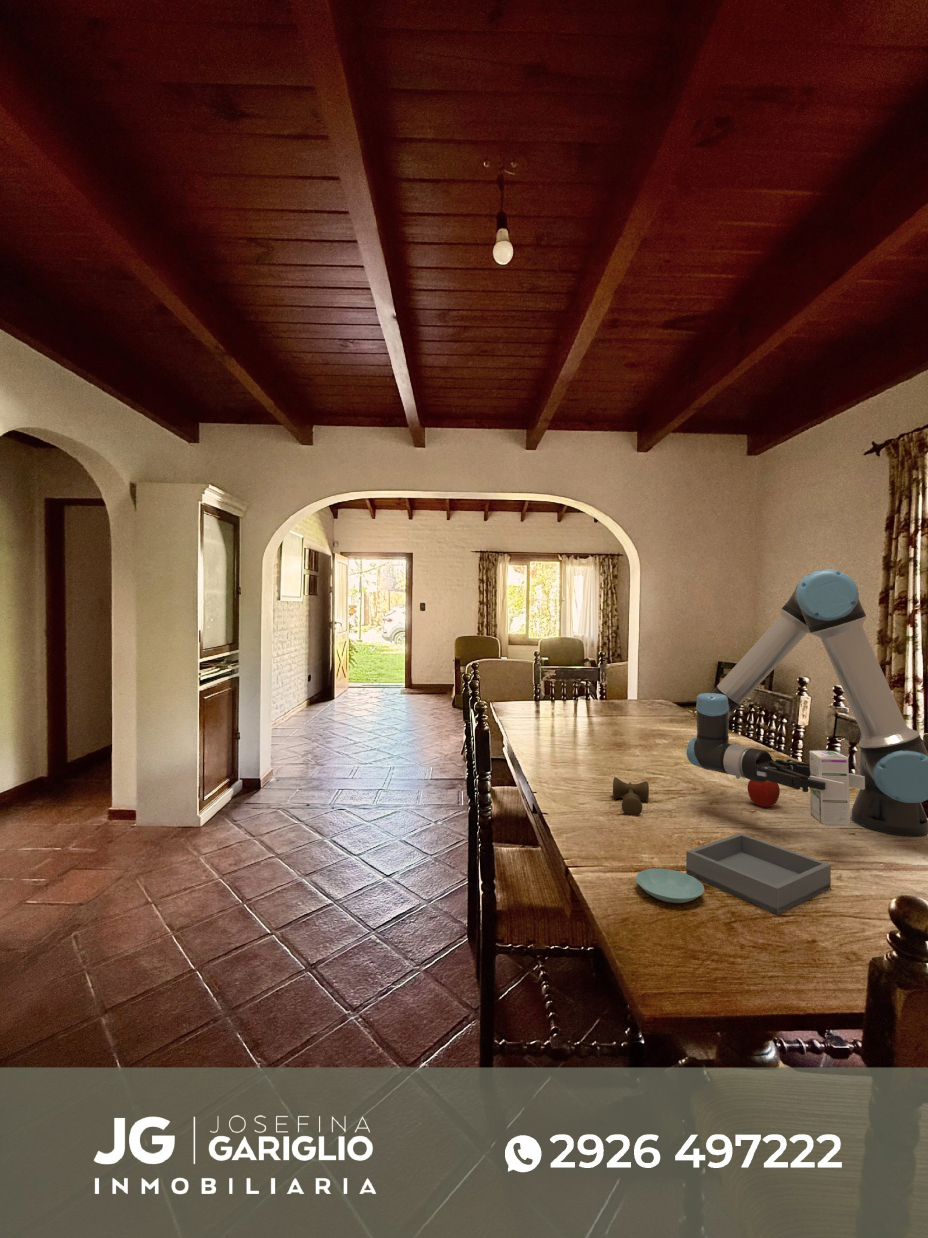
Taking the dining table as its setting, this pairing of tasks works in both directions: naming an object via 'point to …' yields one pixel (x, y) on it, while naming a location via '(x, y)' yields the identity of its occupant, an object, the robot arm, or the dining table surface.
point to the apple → (763, 793)
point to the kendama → (631, 795)
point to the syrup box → (825, 804)
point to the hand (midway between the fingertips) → (854, 786)
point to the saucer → (669, 885)
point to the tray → (759, 872)
